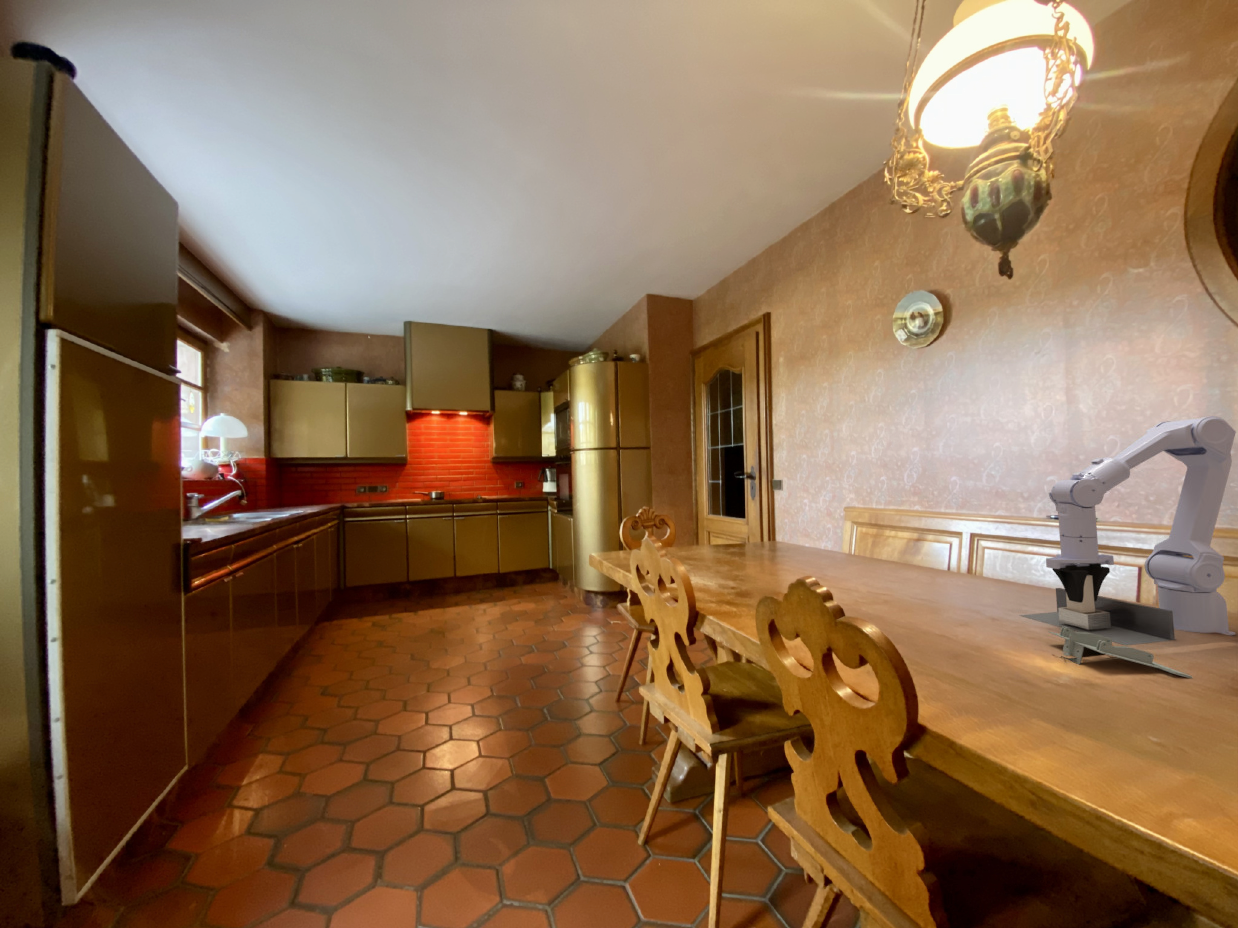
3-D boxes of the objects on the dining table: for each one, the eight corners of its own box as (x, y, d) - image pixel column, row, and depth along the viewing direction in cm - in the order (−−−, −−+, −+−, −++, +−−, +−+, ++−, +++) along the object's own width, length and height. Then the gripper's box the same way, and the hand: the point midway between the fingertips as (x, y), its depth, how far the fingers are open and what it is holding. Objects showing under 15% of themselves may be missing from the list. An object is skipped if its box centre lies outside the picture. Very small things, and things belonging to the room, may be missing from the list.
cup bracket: (1060, 611, 109) (1059, 587, 109) (1174, 639, 89) (1172, 610, 89) (1025, 614, 107) (1023, 590, 107) (1133, 644, 87) (1130, 614, 88)
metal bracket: (1111, 644, 76) (1036, 617, 91) (1102, 679, 76) (1029, 646, 91) (1204, 669, 75) (1113, 637, 90) (1196, 704, 75) (1106, 666, 90)
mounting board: (1063, 615, 109) (1062, 611, 109) (1177, 644, 89) (1176, 639, 89) (1019, 619, 107) (1018, 615, 107) (1125, 650, 87) (1125, 645, 87)
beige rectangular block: (1078, 607, 100) (1076, 572, 100) (1095, 611, 97) (1092, 575, 97) (1067, 608, 100) (1064, 573, 100) (1083, 612, 97) (1080, 576, 97)
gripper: (1085, 532, 104) (1089, 593, 103) (1029, 535, 101) (1033, 598, 101) (1123, 535, 97) (1128, 601, 96) (1065, 539, 94) (1069, 606, 94)
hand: (1082, 600), depth 98 cm, fingers closed on beige rectangular block, 3 cm apart
